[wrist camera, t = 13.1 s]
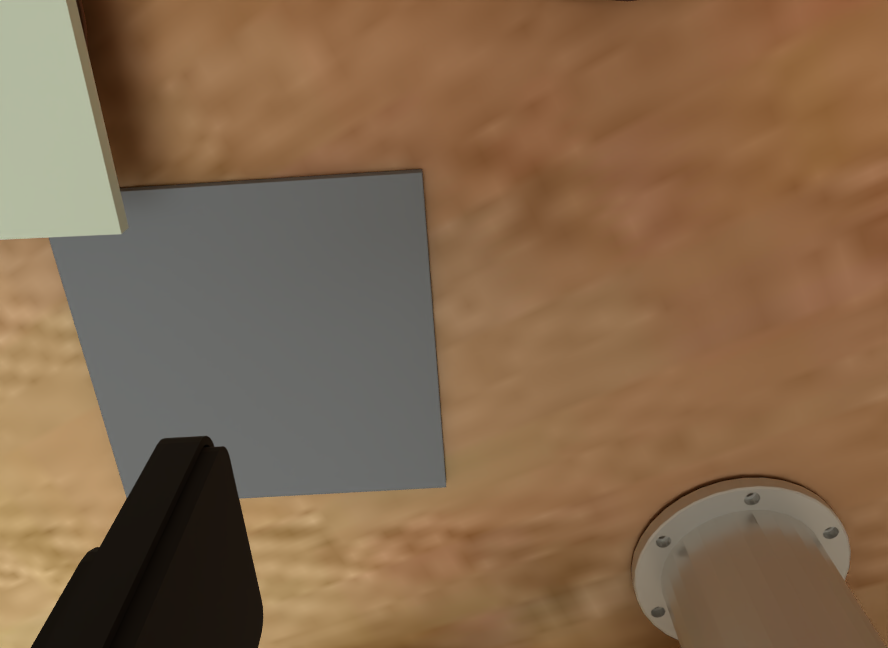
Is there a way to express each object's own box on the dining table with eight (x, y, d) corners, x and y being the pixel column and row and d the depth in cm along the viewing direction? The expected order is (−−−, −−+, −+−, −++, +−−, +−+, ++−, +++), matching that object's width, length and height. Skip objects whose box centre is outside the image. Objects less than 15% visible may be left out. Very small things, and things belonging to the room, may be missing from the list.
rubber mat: (446, 480, 45) (445, 487, 44) (132, 497, 45) (128, 504, 45) (421, 169, 37) (422, 172, 36) (42, 193, 37) (36, 196, 37)
